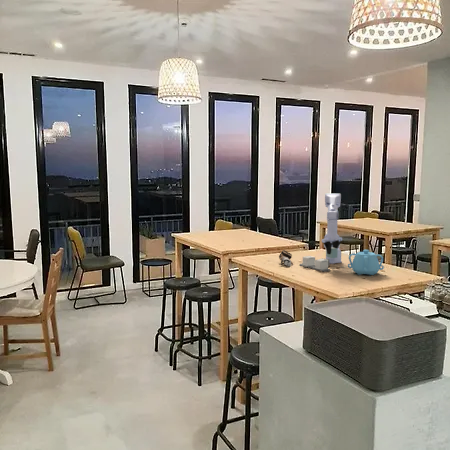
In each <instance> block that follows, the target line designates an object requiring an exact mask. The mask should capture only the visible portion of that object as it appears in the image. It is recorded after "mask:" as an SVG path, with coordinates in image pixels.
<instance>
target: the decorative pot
mask: <svg viewBox="0 0 450 450" xmlns="http://www.w3.org/2000/svg"><path fill="white" fill-rule="evenodd" d="M352 256H354V257H353V259H352ZM378 257H380V258H381V259H380V261H379V259H378ZM348 261H349V263H348V264H347V268H349V269H352V271H353V272H354V273H355V274H357V275H358V276H361V275H369V276H371V275H373V276H375V275H376V274H377V273H379V271H381V270H384V268H385V267H384V265H383V262H384V257H383V255H381V254H377V253H375V252H371V251H370V250H369V249H363V250H362V251H358V252H356V253H355V252H354V253H350V254H349V255H348Z"/></svg>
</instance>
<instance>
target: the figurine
mask: <svg viewBox="0 0 450 450" xmlns="http://www.w3.org/2000/svg"><path fill="white" fill-rule="evenodd" d="M278 258H279V260H280V263H281V264H282V263H283V264H284V266H287V267H288V266H289V267H291V266H293V264H294V262H293V261H292V260H291V259H292V258H293V255H292V253H290V252H289V251H287V250H285V249H283V250H282V251H281V252H280V253H279V255H278Z"/></svg>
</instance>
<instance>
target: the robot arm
mask: <svg viewBox="0 0 450 450" xmlns="http://www.w3.org/2000/svg"><path fill="white" fill-rule="evenodd" d="M341 199H342V194H341V193H324V206H325V207H326V208H327V211H326V220H327V227H326V228H327V230H326V231H327V233H326V234H325V235H324V238H322V239H321V243H323V247H324V248H325V255H326V254H331V247H334V248H338V252H337V258H330V257H326V256H325V259H330V260H329V265H330V264H331V265H332V264H337V263H338V264H339V263H342V262H343V261H342V251H341V249H340V247H341V245H340V244H341V242H342V241H343V237H342V236H341V237H340V235H339V234H338V221H339V210H338V208H340V207H341V202H342V201H341Z"/></svg>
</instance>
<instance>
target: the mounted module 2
mask: <svg viewBox="0 0 450 450" xmlns="http://www.w3.org/2000/svg"><path fill="white" fill-rule="evenodd" d="M315 268H316V269H320V270H321V269H329V266H328V260H326V258H323V259H322V258H319V259H315Z"/></svg>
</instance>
